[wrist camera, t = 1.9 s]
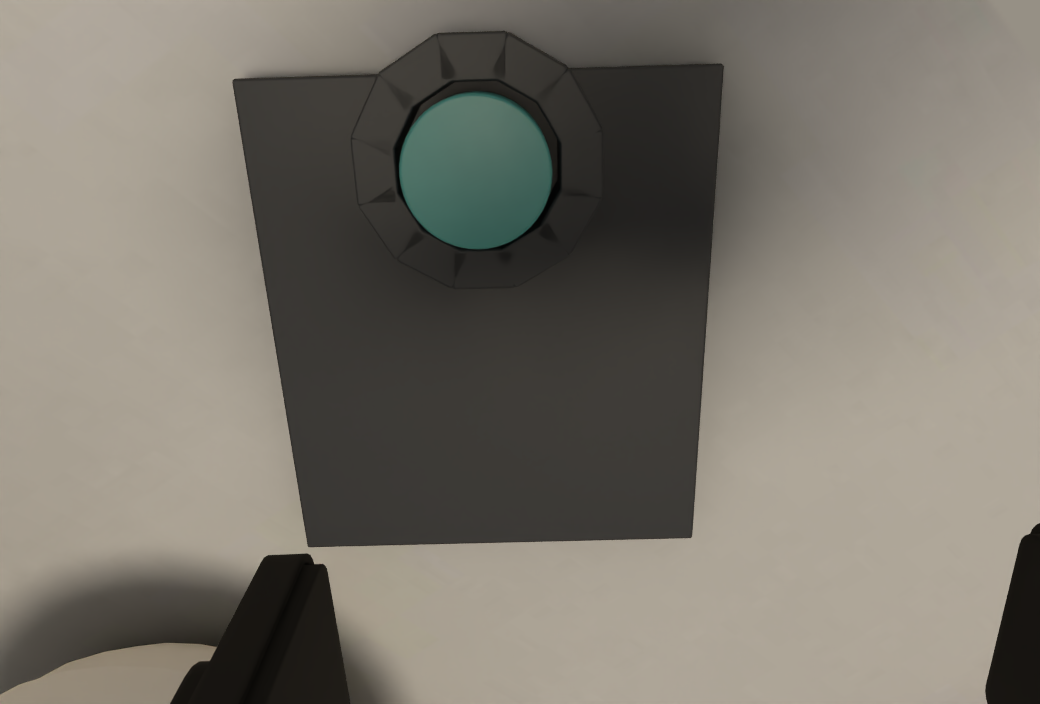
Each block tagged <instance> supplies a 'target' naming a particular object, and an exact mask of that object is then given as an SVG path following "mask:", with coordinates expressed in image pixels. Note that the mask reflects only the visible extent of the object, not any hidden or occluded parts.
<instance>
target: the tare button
mask: <svg viewBox="0 0 1040 704" xmlns="http://www.w3.org/2000/svg"><path fill="white" fill-rule="evenodd" d="M399 177H400V184H401V189H402V192H403V196H404V198H405V201H406V203H407V205H408V207H409V209H410V210H411V212H412V214H413V215H414V217H415V218H416V219H417V221H418V222H419V223H420V224H421V225H422V226H423V227H424V228H425V229H426V230H427V231H428V232H430V233H431V234H432V235H434V236H435V237H437V238H438V239H440V240H442V241H444V242H446V243H448V244H451V245H454V246H457V247H461V248H467V249H489V248H494V247H498V246H501V245H504V244H506V243H509V242H511V241H513V240H514V239H516V238H518V237H519V236H521V235H522V234H523V233H525V232H526V231H527V230H528V229H529V228H530V227H531V226H532V225H533V224H534V223H535V221H536V220H537V219H538V217H539V216H540V214H541V213H542V211H543V209H544V207H545V205H546V203H547V200H548V197H549V194H550V190H551V185H552V160H551V156H550V151H549V148H548V145H547V142H546V140H545V137H544V135H543V133H542V131H541V129H540V127H539V126H538V124H537V123H536V121H535V120H534V119H533V117H532V116H531V115H530V114H529V113H528V112H527V111H526V110H525V109H524V108H522V107H521V106H520V105H518V104H517V103H515V102H514V101H512V100H510V99H508V98H506V97H504V96H501V95H498V94H495V93H490V92H483V91H472V92H464V93H460V94H456V95H453V96H451V97H448V98H446V99H443V100H441V101H439V102H437V103H436V104H434V105H432V106H431V107H430V108H428V109H427V110H426V111H425V112H424V113H423V114H422V115H421V116H420V117H419V118H418V119H417V120H416V121H415V123H414V124H413V125H412V127H411V129H410V130H409V132H408V134H407V136H406V138H405V141H404V143H403V146H402V150H401V155H400V162H399Z"/></svg>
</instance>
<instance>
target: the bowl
mask: <svg viewBox="0 0 1040 704" xmlns="http://www.w3.org/2000/svg"><path fill="white" fill-rule="evenodd" d="M216 648H217V647H213V646H207V645H202V644H184V643H160V644H152V645H144V646H135V647H129V648H124V649H118V650H112V651H107V652H102V653H98V654H95V655H92V656H89V657H85V658H82V659H79V660H75V661H72V662H69V663H66V664H64V665H62V666H61V667H59V668H57V669H55V670H53V671H51V672H49V673H48V674H46V675H44V676H42V677H40V678H38V679H36V680H32V681H29V682H26V683H22V684H19V685H17V686H15V687H14V688H12V689H10V690H8V691H6V692H4V693H2V694H1V695H0V704H170V702H171V701H172V699H173V697H174V695H175V693H176V692H177V690H178V688H179V686H180V684H181V682H182V681H183V679H184V677H185V675H186V674H187V673H188V671H189V670H190V668H191V667H192V666H193V665H195V664H196V663H197V662H199V661H210V660H211V658H212V656H213V654H214V652H215V650H216Z"/></svg>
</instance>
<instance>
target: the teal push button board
mask: <svg viewBox="0 0 1040 704" xmlns="http://www.w3.org/2000/svg"><path fill="white" fill-rule="evenodd" d="M723 70H724V66H723V64H689V65H657V66H626V67H594V68H568V67H567V66H566V65H565V64H563V63H561V62H560V61H558V60H556V59H555V58H553V57H551V56H549V55H548V54H546V53H544V52H543V51H541V50H539V49H537V48H536V47H534V46H532V45H531V44H529V43H527V42H526V41H524V40H522V39H520V38H519V37H517V36H515V35H514V34H512V33H509V32H508V33H507V32H506V31H484V32H453V33H438V34H434V35H432V36H431V37H429V38H428V39H427V40H425V41H424V42H422V43H421V44H419V45H418V46H416V47H415V48H414V49H412V50H411V51H409V52H408V53H406V54H405V55H403V56H402V57H400V58H399V59H398V60H396V61H395V62H393V63H392V64H390V65H389V66H387V67H386V68H385V69H383V70H382V71H380V72H379V74H372V75H340V76H309V77H277V78H245V79H234V80H233V89H234V95H235V101H236V107H237V113H238V119H239V125H240V132H241V138H242V144H243V150H244V156H245V162H246V169H247V175H248V181H249V187H250V193H251V199H252V206H253V212H254V218H255V224H256V230H257V236H258V243H259V249H260V255H261V261H262V267H263V273H264V279H265V286H266V292H267V298H268V304H269V310H270V316H271V323H272V329H273V335H274V341H275V347H276V353H277V360H278V366H279V372H280V378H281V384H282V390H283V397H284V403H285V409H286V415H287V421H288V427H289V433H290V440H291V446H292V452H293V458H294V464H295V470H296V477H297V483H298V489H299V495H300V501H301V507H302V514H303V520H304V526H305V532H306V538H307V544H308V547H334V546H376V545H418V544H459V543H501V542H543V541H585V540H626V539H668V538H691V537H692V530H693V515H694V500H695V485H696V470H697V455H698V441H699V426H700V411H701V396H702V381H703V366H704V352H705V337H706V322H707V307H708V292H709V278H710V263H711V248H712V233H713V218H714V203H715V189H716V174H717V159H718V144H719V129H720V114H721V100H722V85H723ZM472 91H483V92H490V93H495V94H498V95H501V96H504V97H506V98H508V99H510V100H512V101H514V102H515V103H517V104H518V105H520V106H521V107H522V108H524V109H525V110H526V111H527V112H528V113H529V114H530V115H531V116H532V117H533V119H534V120H535V121H536V123H537V124H538V126H539V127H540V129H541V131H542V133H543V135H544V137H545V140H546V142H547V145H548V148H549V151H550V156H551V160H552V185H551V190H550V194H549V197H548V200H547V203H546V205H545V207H544V209H543V211H542V213H541V214H540V216H539V217H538V219H537V220H536V221H535V223H534V224H533V225H532V226H531V227H530V228H529V229H528V230H527V231H526V232H525V233H523V234H522V235H521V236H519V237H518V238H516V239H514V240H513V241H511V242H509V243H506V244H504V245H501V246H498V247H494V248H489V249H467V248H461V247H457V246H454V245H451V244H448V243H446V242H444V241H442V240H440V239H438V238H437V237H435V236H434V235H432V234H431V233H430V232H428V231H427V230H426V229H425V228H424V227H423V226H422V225H421V224H420V223H419V222H418V221H417V219H416V218H415V217H414V215H413V214H412V212H411V210H410V209H409V207H408V205H407V203H406V201H405V198H404V196H403V192H402V189H401V184H400V177H399V162H400V155H401V150H402V146H403V143H404V141H405V138H406V136H407V134H408V132H409V130H410V129H411V127H412V125H413V124H414V123H415V121H416V120H417V119H418V118H419V117H420V116H421V115H422V114H423V113H424V112H425V111H426V110H427V109H428V108H430V107H431V106H432V105H434V104H436V103H437V102H439V101H441V100H443V99H446V98H448V97H451V96H453V95H456V94H460V93H464V92H472Z"/></svg>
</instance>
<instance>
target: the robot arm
mask: <svg viewBox="0 0 1040 704" xmlns="http://www.w3.org/2000/svg"><path fill="white" fill-rule="evenodd" d="M985 692H986V699H987V703H988V704H1040V524H1037V525H1036V526H1035V527H1034V528H1033V529H1032V531H1031V533H1030V534H1029V535H1025V536H1024V537H1023V538H1022V540H1021V542H1020V545H1019V549H1018V553H1017V558H1016V562H1015V566H1014V570H1013V574H1012V578H1011V583H1010V587H1009V591H1008V595H1007V599H1006V604H1005V608H1004V612H1003V616H1002V620H1001V624H1000V629H999V633H998V637H997V641H996V645H995V650H994V654H993V658H992V662H991V666H990V670H989V675H988V679H987V683H986V690H985ZM170 704H350V699H349V693H348V687H347V681H346V675H345V670H344V664H343V658H342V652H341V647H340V641H339V635H338V629H337V624H336V618H335V612H334V606H333V600H332V595H331V589H330V583H329V577H328V572H327V568H326V566H325V565H324V564H314V562H313V559H312V557H311V555H309V554H289V555H268V556H266V557H265V558H264V559H263V560H262V562H261V564H260V566H259V567H258V569H257V571H256V573H255V575H254V577H253V579H252V581H251V583H250V585H249V587H248V589H247V591H246V592H245V594H244V596H243V598H242V600H241V602H240V604H239V606H238V608H237V610H236V612H235V614H234V615H233V617H232V619H231V621H230V623H229V625H228V627H227V629H226V631H225V633H224V635H223V637H222V638H221V640H220V642H219V644H218V646H217V648H216V650H215V652H214V654H213V656H212V658H211V660H210V661H199V662H197V663H196V664H195V665H193V666H192V667H191V668H190V670H189V671H188V673H187V674H186V675H185V677H184V679H183V681H182V682H181V684H180V686H179V688H178V690H177V692H176V693H175V695H174V697H173V699H172V701H171V702H170Z"/></svg>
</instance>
